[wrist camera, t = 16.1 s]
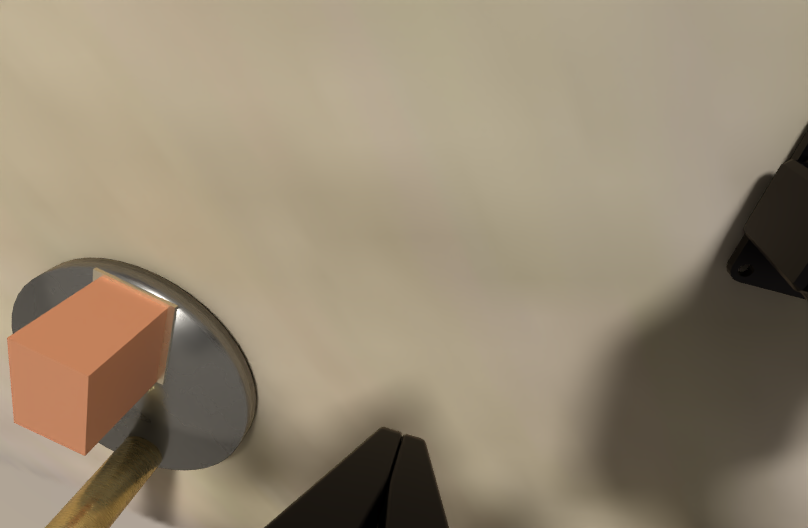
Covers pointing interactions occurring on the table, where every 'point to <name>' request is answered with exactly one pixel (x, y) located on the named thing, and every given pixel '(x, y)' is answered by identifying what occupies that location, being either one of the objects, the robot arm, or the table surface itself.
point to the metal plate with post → (155, 390)
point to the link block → (85, 363)
